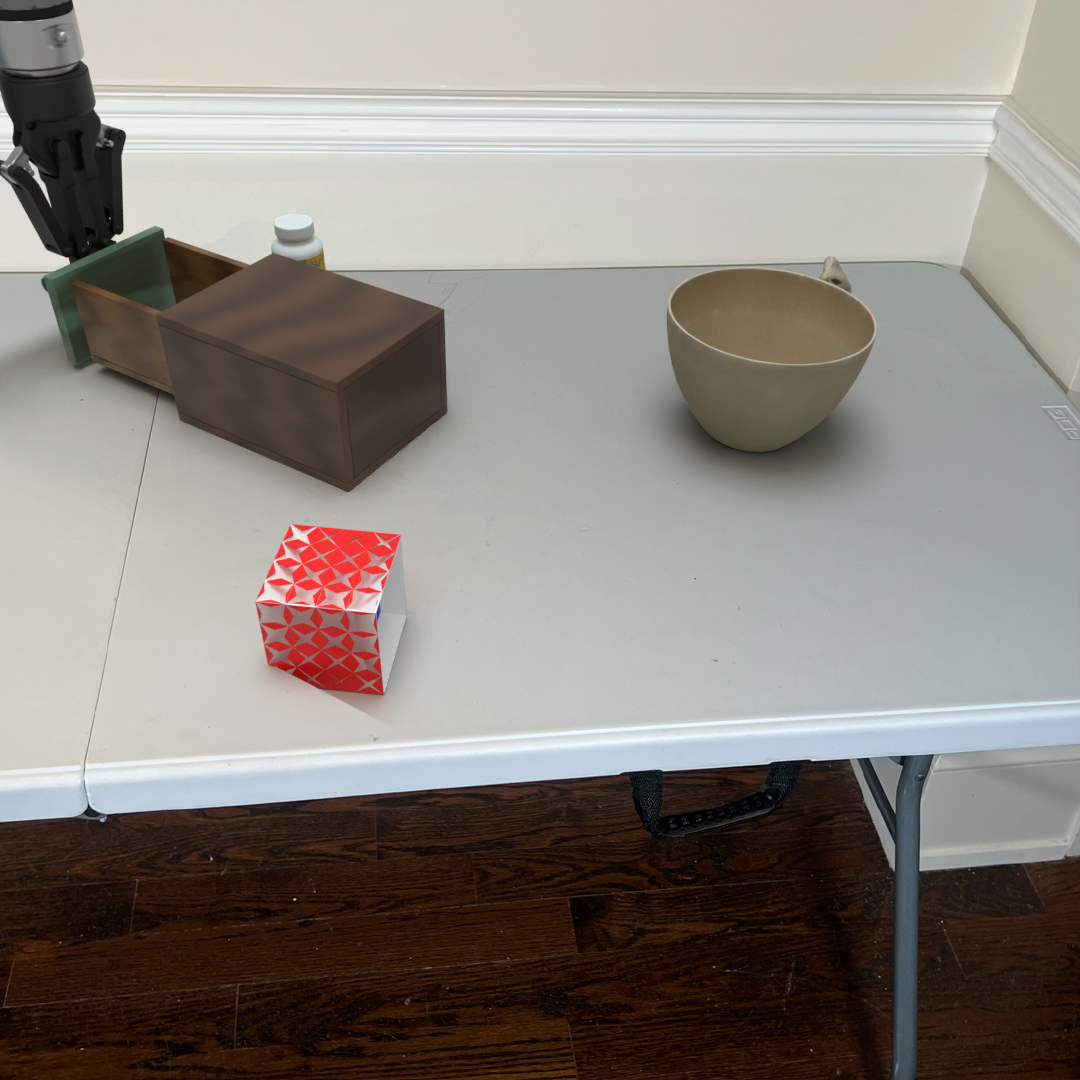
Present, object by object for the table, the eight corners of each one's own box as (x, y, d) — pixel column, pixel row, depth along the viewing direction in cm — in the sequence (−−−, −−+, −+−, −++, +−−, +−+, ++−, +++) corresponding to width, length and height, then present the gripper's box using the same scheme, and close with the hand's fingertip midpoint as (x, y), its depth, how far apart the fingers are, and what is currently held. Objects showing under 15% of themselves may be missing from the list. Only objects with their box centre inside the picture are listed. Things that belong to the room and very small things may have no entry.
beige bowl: (871, 483, 91) (907, 364, 84) (670, 486, 90) (687, 365, 82) (816, 376, 105) (842, 265, 97) (640, 377, 104) (653, 264, 96)
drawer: (33, 345, 103) (6, 262, 97) (138, 292, 112) (119, 213, 106) (208, 419, 94) (190, 332, 88) (307, 355, 103) (297, 273, 97)
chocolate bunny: (860, 344, 110) (883, 257, 104) (808, 364, 107) (829, 275, 100) (822, 323, 114) (842, 236, 107) (770, 341, 110) (788, 253, 104)
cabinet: (179, 419, 95) (155, 314, 88) (287, 352, 105) (273, 252, 98) (348, 492, 88) (336, 383, 81) (447, 411, 98) (444, 308, 91)
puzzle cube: (303, 604, 77) (290, 523, 72) (407, 614, 77) (401, 533, 72) (271, 684, 71) (254, 602, 66) (383, 696, 71) (375, 614, 66)
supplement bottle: (321, 290, 115) (311, 207, 109) (336, 311, 112) (327, 227, 106) (273, 299, 114) (261, 215, 107) (287, 321, 110) (275, 235, 104)
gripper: (5, 91, 84) (77, 347, 99) (129, 54, 92) (178, 295, 108) (-55, 73, 86) (24, 325, 102) (71, 39, 95) (127, 276, 110)
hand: (103, 309), depth 105 cm, fingers closed
